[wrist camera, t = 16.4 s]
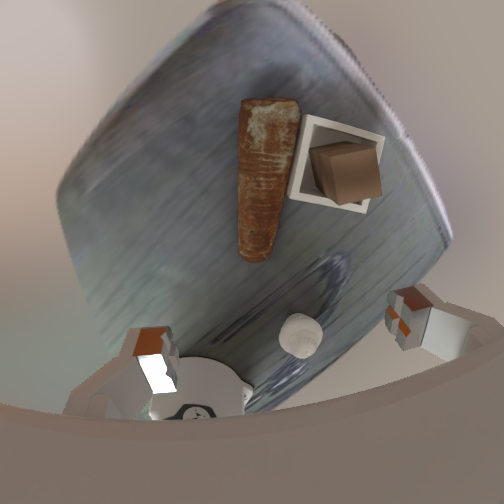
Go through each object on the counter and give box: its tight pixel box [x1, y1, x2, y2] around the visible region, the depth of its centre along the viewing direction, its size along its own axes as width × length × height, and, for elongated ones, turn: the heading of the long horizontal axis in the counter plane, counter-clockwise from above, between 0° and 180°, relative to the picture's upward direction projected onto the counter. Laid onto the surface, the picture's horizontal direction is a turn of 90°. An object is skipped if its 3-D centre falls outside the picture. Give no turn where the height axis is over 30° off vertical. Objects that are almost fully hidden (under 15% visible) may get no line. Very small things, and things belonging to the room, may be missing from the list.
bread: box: [238, 97, 301, 263], centre depth 32 cm, size 6×19×6 cm, turn 173°
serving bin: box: [286, 114, 385, 214], centre depth 31 cm, size 9×9×5 cm
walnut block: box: [308, 141, 382, 206], centre depth 29 cm, size 5×5×8 cm
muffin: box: [279, 313, 323, 359], centre depth 40 cm, size 6×6×7 cm
